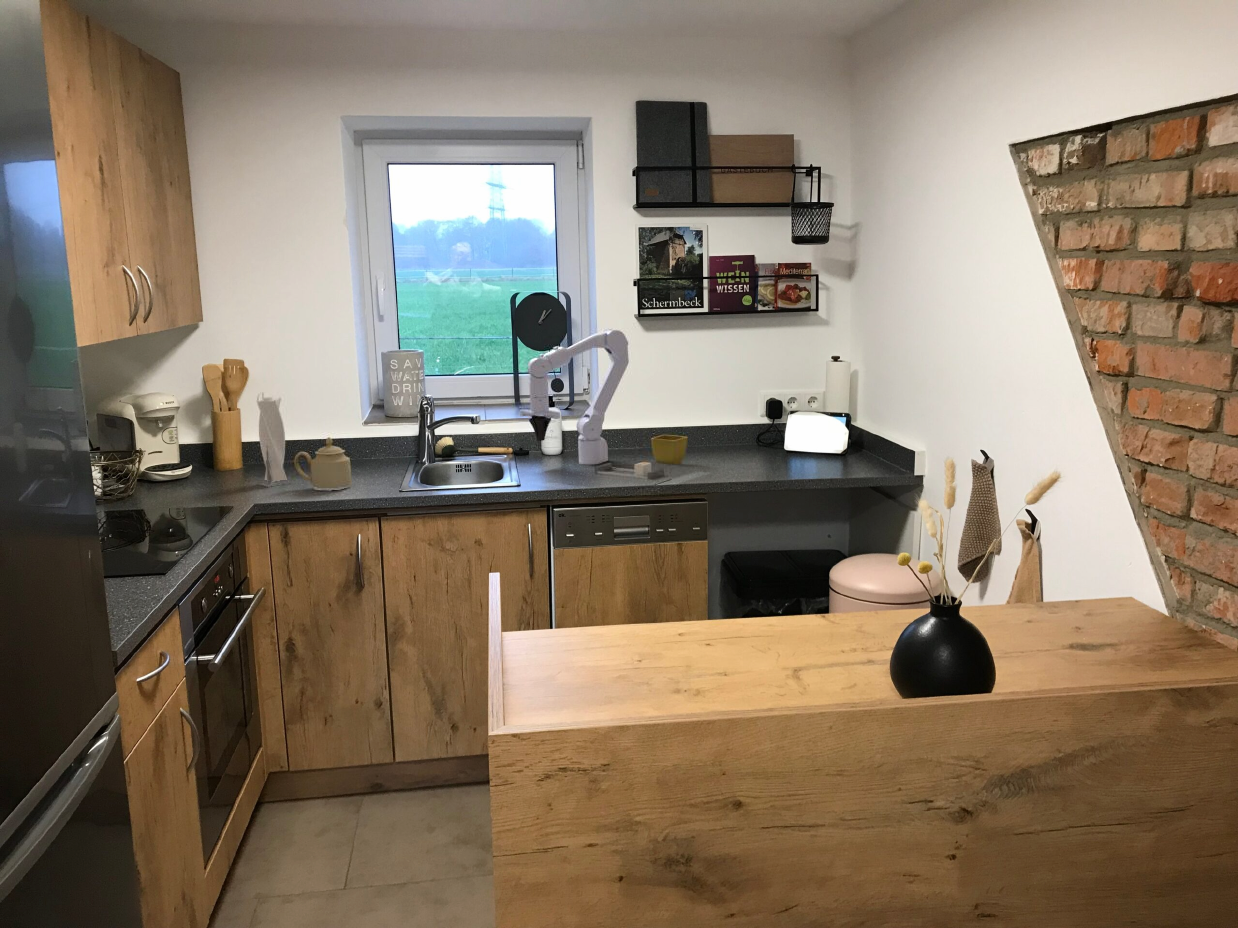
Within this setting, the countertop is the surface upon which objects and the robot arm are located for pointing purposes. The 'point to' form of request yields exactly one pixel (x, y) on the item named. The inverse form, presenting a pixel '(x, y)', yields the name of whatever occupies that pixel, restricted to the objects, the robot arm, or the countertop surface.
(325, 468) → the sugar bowl
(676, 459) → the flower pot
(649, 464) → the fader knob
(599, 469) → the fader console
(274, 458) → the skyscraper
